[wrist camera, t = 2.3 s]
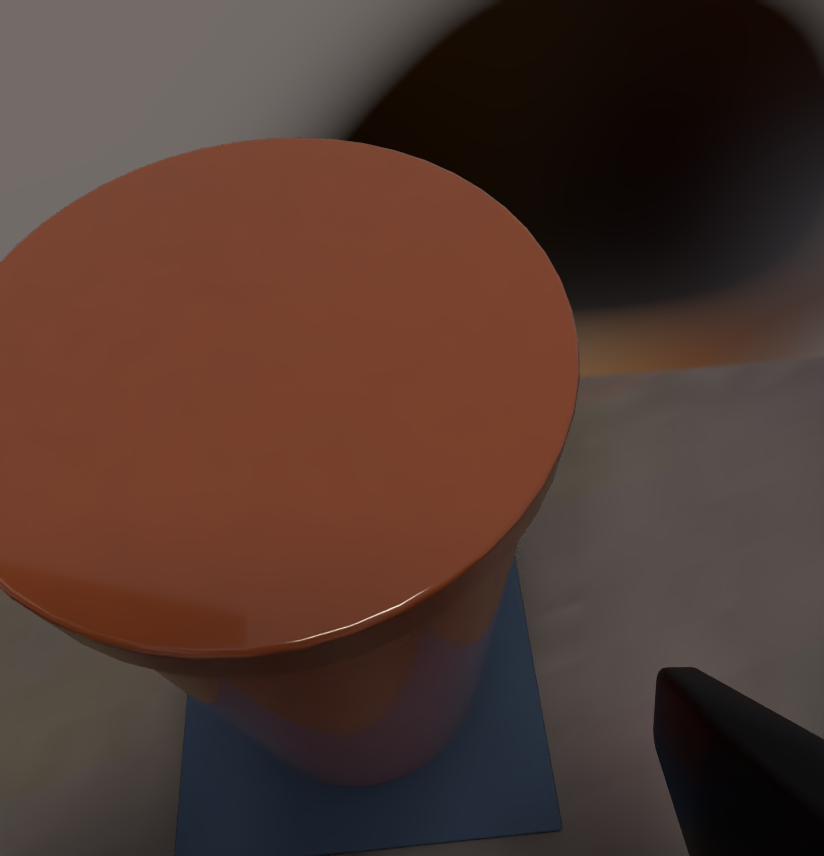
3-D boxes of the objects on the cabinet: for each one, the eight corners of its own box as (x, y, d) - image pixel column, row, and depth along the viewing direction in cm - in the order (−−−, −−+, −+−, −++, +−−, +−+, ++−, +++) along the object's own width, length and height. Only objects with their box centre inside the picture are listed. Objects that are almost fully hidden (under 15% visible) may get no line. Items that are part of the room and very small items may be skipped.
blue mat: (560, 831, 17) (563, 830, 16) (177, 869, 16) (172, 870, 16) (501, 492, 21) (502, 485, 21) (204, 518, 21) (201, 512, 21)
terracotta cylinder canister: (508, 782, 17) (660, 618, 6) (223, 810, 17) (-182, 697, 6) (470, 523, 20) (520, 117, 9) (237, 543, 20) (6, 155, 9)
